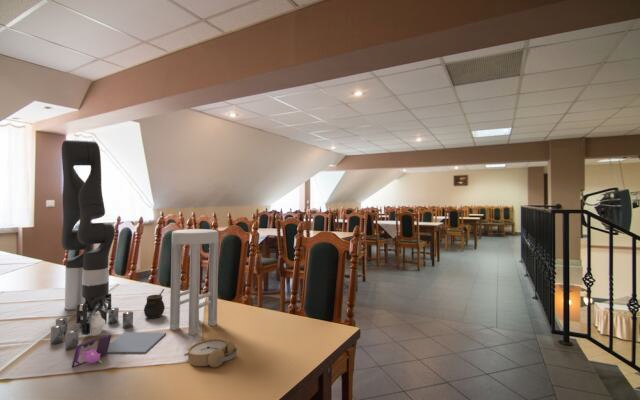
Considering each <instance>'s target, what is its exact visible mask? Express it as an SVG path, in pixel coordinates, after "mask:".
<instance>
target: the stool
mask: <svg viewBox="0 0 640 400" xmlns="http://www.w3.org/2000/svg"><path fill="white" fill-rule="evenodd" d="M219 236H220V235H219V231H218V229H209V228H208V229H206V228H192V229H191V228H190V229H189V228H188V229H177V230H173V231H172V232H171V246H170V247H171V250H170V251H171V253H170V255H171V257H170V258H171V259H170V299H169V300H170V303H169V304H170V306H169V307H170V309H169V313H170V314H169V330H171V331H175V330H178V329H180V326H181V325H180V324H181V323H180V318H181V317H180V316H181V305H183V304H187V303H188V330H187V332H188V335H192V336H194V335H197V334H199V320H200V309H201V308H203V307H204V308H205V307H206V306H208V307H207V326H212V327H213V326H215V325H217V324H218V288H219V286H218V283H219V281H218V277H219ZM207 244H209V247H208V248H209V251H208V252H209V253H208V256H209V257H208V292H205V293H202V294H200V284H201V283H200V282H201V281H200V278H201V276H200V274H201V273H200V272H201V271H200V270H201V269H200V267H201V245H207ZM182 245H189V283H188V284H189V286H188V287H189V288H188V289H186V290H183V291H181V272H182V271H181V269H182V267H181V266H182V264H181V263H182ZM186 295H188V297H187V298H184V299H181V297H183V296H186ZM205 298H207V299H208V300H206V301H203V302H201V303H200V300H202V299H205Z"/></svg>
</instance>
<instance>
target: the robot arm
mask: <svg viewBox="0 0 640 400" xmlns="http://www.w3.org/2000/svg"><path fill="white" fill-rule="evenodd" d="M61 162H62V174H63V175H62V177H63V178H62V179H63V181H62V214H63V215H62V217H63V218H62V219H63V221H62V230H61V246H62V249H63V250H64V251H83V252H81V253H80V254H78V255H77V256H74V257H71V258H69V259H67V260H65V271H64V272H65V273H64V274H65V278H64V280H65V283H64V285H65V286H64V310H68V311H70V310H76V319H75V320H76V321H75V322H76V324H80V323H81V324H82V328H81V335H83V336H85V335H86V336H89V335H88V334H90V321H91V318H92V317H93V316H94V315H95V314H97V312H98V314H100V315H101V317H102V318H103V319H104V320H105V322H106V323H105V325H106V324H107V323H108V319H107V318H108V310H111V308H112V293H110V292H109V285H110V284H109V283H110V271H109V256H110V255H109V254H110V252H111V249H112V246H113V245H112V244H113V242H114V239H115V237H116V236H115V235H116V230H115V227H114V225H113V224H112V223H110V222H95V223H93V222H91V221H92V220H97V219H101V218H103V217H104V216H105V215H106V209H105V203H104V198H103V190H102V189H103V188H102V161H101V149H100V146H99V144H98V142H97V141H95V140H89V139H88V140H86V139H64V140H63V141H62V143H61ZM74 166H87V167H88V166H90V172H89V174H88V177H87V178H86V180H85V181H84V180H83V179H82V178H81V177H80V176H79V175H78V172H76V169H75V168H74ZM78 222H79V223H78ZM77 223H78V224H79V225H78V228H75V226H76V224H77ZM98 244H99V245H98ZM94 245H98V247H97V248H96V249H94ZM87 311H88V312H89V313H87ZM81 316H82V319H81ZM87 316H88V319H87Z"/></svg>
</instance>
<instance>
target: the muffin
mask: <svg viewBox="0 0 640 400" xmlns="http://www.w3.org/2000/svg"><path fill="white" fill-rule="evenodd" d="M105 323H106V322H105V320H104V319H103V318H102V317H101V315H100V313H95V315H94V316H93V317H92V318H91V321H90V334H88V335H87V336H90V337H93V336H98V335H100V334H101V333H102V331H103V330H104V327H105V325H106V324H107V323H106V324H105Z"/></svg>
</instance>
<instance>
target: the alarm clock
mask: <svg viewBox="0 0 640 400" xmlns="http://www.w3.org/2000/svg"><path fill="white" fill-rule="evenodd" d="M237 354H238V348H237V347H236V344H235V342H233V340H232V341H231V340H229V341H228V340H226V339H222V338H211V339H206V340H202V341H199V342H196V343H193V344H192V345H191V346H190V347H189V348H188V349H187V353H184V354H183V355H184V357H186V356H187V357H188V364H189V365H190V366H194V367H208V366H209V367H211V368H215V369H216V368H219V367H220V366H221V365H223V363H224V362H226V361H230V360H232V359H234V358H236V356H238V355H237Z"/></svg>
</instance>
